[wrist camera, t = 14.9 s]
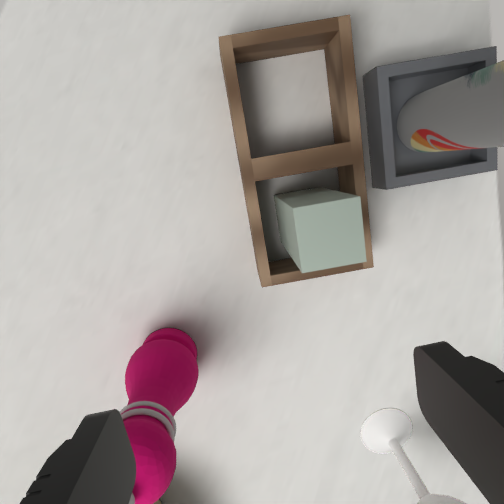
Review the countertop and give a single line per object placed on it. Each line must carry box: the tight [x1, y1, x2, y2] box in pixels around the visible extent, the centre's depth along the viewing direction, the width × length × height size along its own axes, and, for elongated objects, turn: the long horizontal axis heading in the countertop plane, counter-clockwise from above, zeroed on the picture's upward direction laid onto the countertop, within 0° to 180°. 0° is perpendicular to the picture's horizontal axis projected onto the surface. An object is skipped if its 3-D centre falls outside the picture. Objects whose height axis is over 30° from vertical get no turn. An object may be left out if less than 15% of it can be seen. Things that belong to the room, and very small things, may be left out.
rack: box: [219, 15, 374, 287], centre depth 35 cm, size 22×11×5 cm, turn 10°
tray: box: [363, 46, 497, 190], centre depth 35 cm, size 11×11×4 cm
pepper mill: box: [120, 328, 198, 504], centre depth 32 cm, size 7×7×20 cm
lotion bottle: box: [397, 61, 504, 152], centre depth 26 cm, size 6×6×20 cm
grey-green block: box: [274, 187, 367, 273], centre depth 33 cm, size 5×5×12 cm
